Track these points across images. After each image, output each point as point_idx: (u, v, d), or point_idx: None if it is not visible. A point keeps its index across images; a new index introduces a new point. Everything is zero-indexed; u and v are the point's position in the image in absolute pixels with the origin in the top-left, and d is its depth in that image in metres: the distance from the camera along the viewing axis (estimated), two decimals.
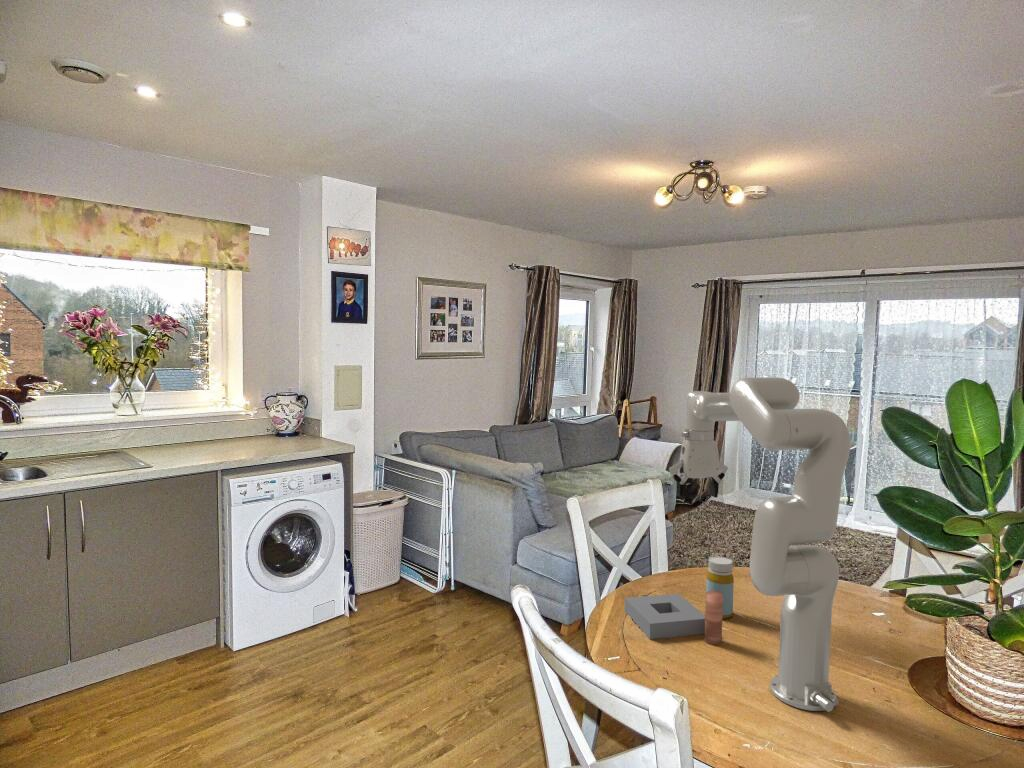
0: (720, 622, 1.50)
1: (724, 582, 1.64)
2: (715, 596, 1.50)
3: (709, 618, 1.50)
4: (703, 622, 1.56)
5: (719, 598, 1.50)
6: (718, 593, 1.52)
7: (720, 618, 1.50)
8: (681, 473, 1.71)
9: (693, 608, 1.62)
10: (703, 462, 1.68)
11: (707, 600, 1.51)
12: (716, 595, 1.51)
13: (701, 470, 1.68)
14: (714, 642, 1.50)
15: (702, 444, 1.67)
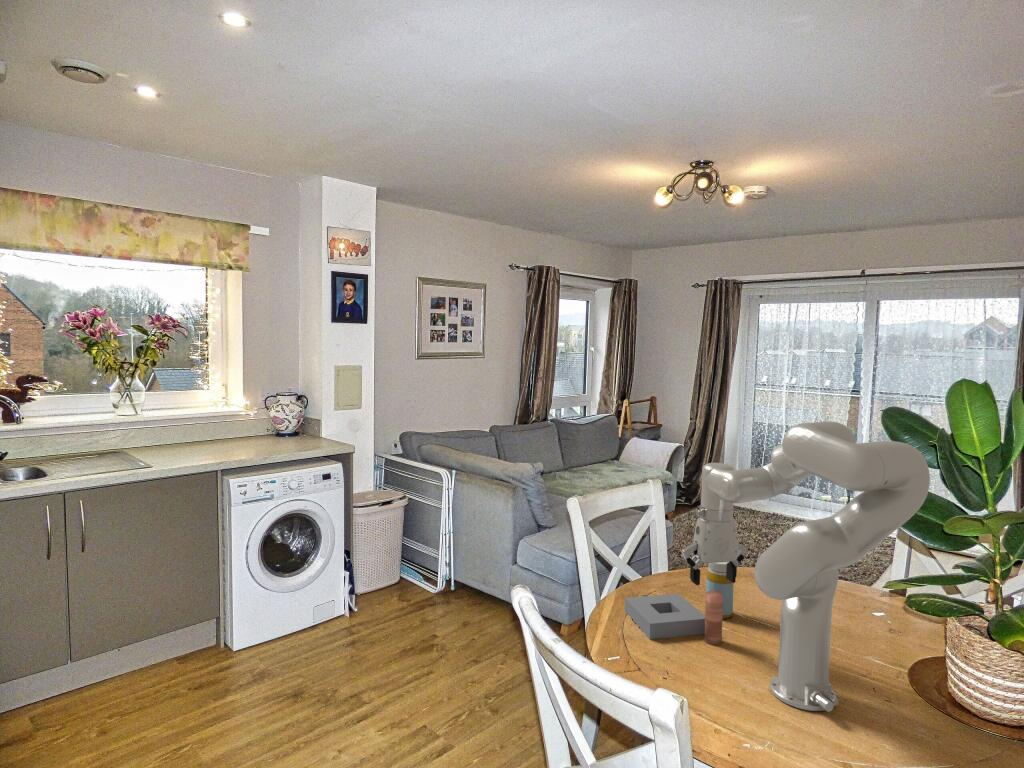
0: (720, 622, 1.50)
1: (724, 582, 1.64)
2: (715, 596, 1.50)
3: (709, 618, 1.50)
4: (703, 622, 1.56)
5: (719, 598, 1.50)
6: (718, 593, 1.52)
7: (720, 618, 1.50)
8: (695, 555, 1.51)
9: (693, 608, 1.62)
10: (720, 545, 1.48)
11: (707, 600, 1.51)
12: (716, 595, 1.51)
13: (718, 554, 1.48)
14: (714, 642, 1.50)
15: (719, 525, 1.48)
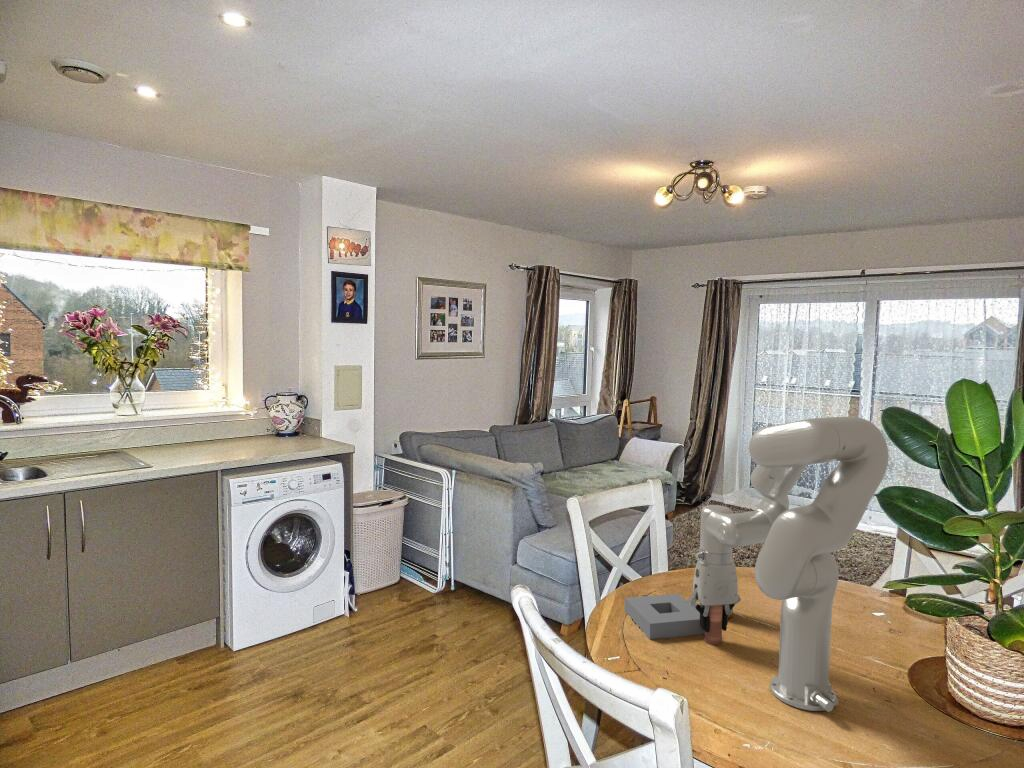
0: (720, 622, 1.50)
1: None
2: None
3: None
4: None
5: None
6: None
7: (720, 618, 1.50)
8: (700, 601, 1.52)
9: (693, 608, 1.62)
10: (720, 588, 1.49)
11: None
12: None
13: (718, 597, 1.49)
14: (714, 642, 1.50)
15: (718, 567, 1.48)
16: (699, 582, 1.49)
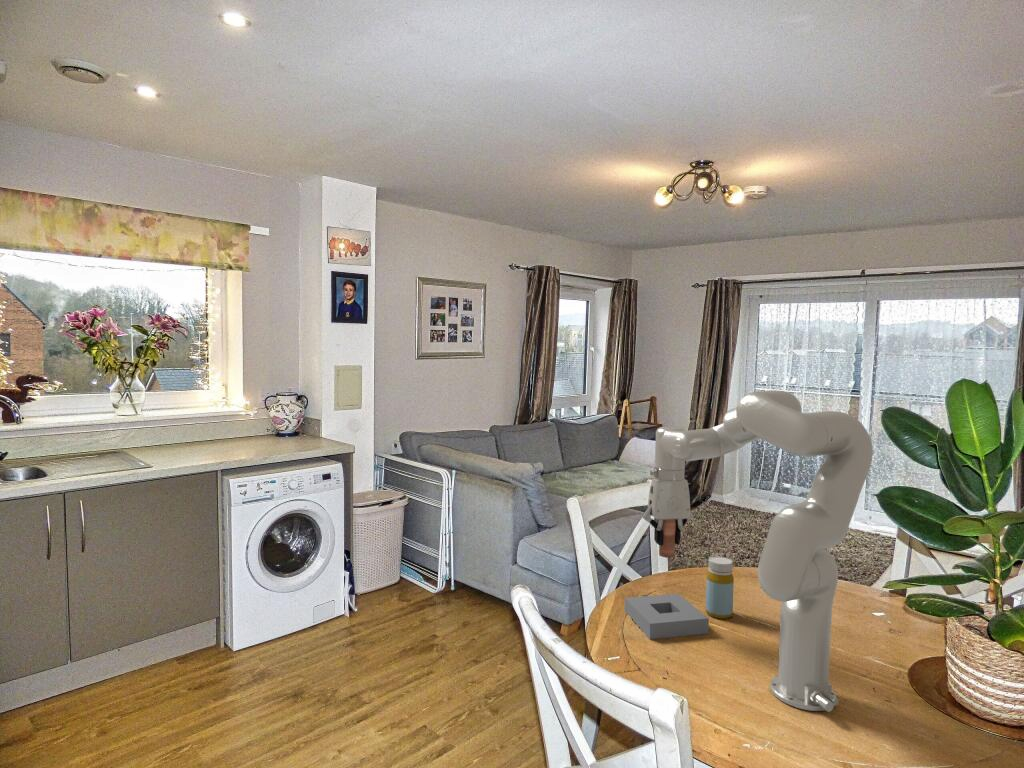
0: (673, 535, 1.59)
1: (724, 582, 1.64)
2: None
3: (663, 532, 1.59)
4: (703, 622, 1.56)
5: None
6: None
7: (673, 532, 1.59)
8: (655, 517, 1.61)
9: (693, 608, 1.62)
10: (673, 503, 1.58)
11: None
12: None
13: (671, 511, 1.58)
14: (667, 554, 1.59)
15: (671, 483, 1.57)
16: (653, 497, 1.58)
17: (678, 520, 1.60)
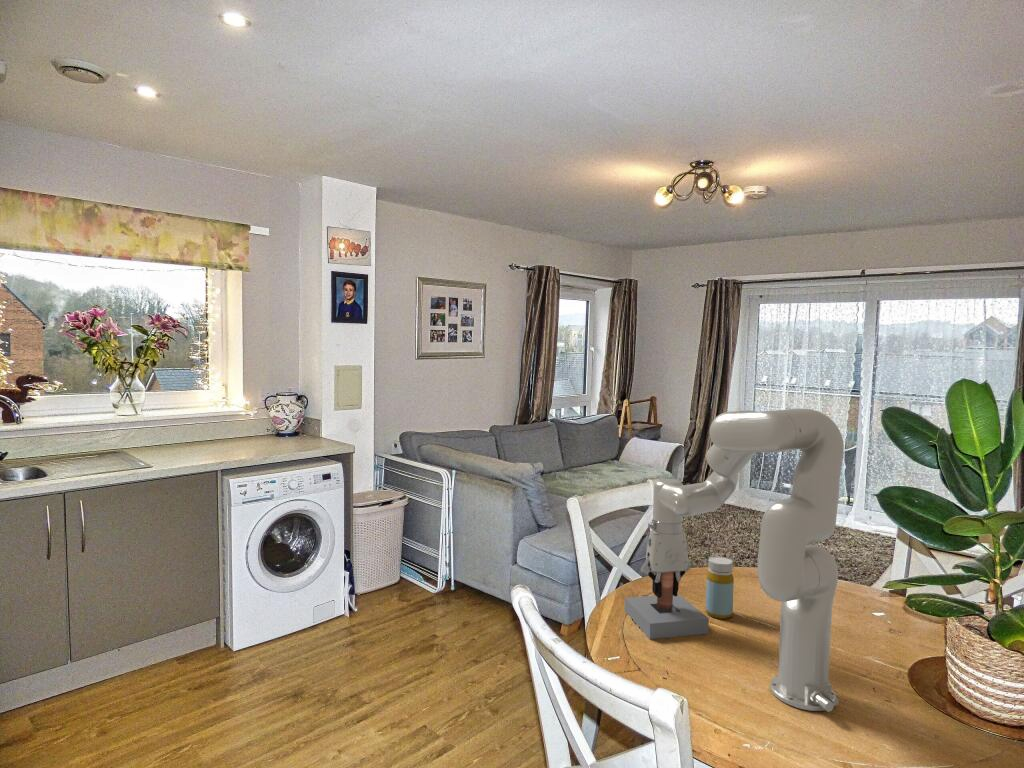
0: (671, 588, 1.60)
1: (724, 582, 1.64)
2: None
3: (661, 584, 1.60)
4: (703, 622, 1.56)
5: None
6: None
7: (671, 584, 1.60)
8: None
9: (693, 608, 1.62)
10: (670, 556, 1.58)
11: None
12: None
13: (669, 564, 1.59)
14: (665, 606, 1.60)
15: (669, 537, 1.58)
16: (651, 550, 1.59)
17: (676, 572, 1.61)
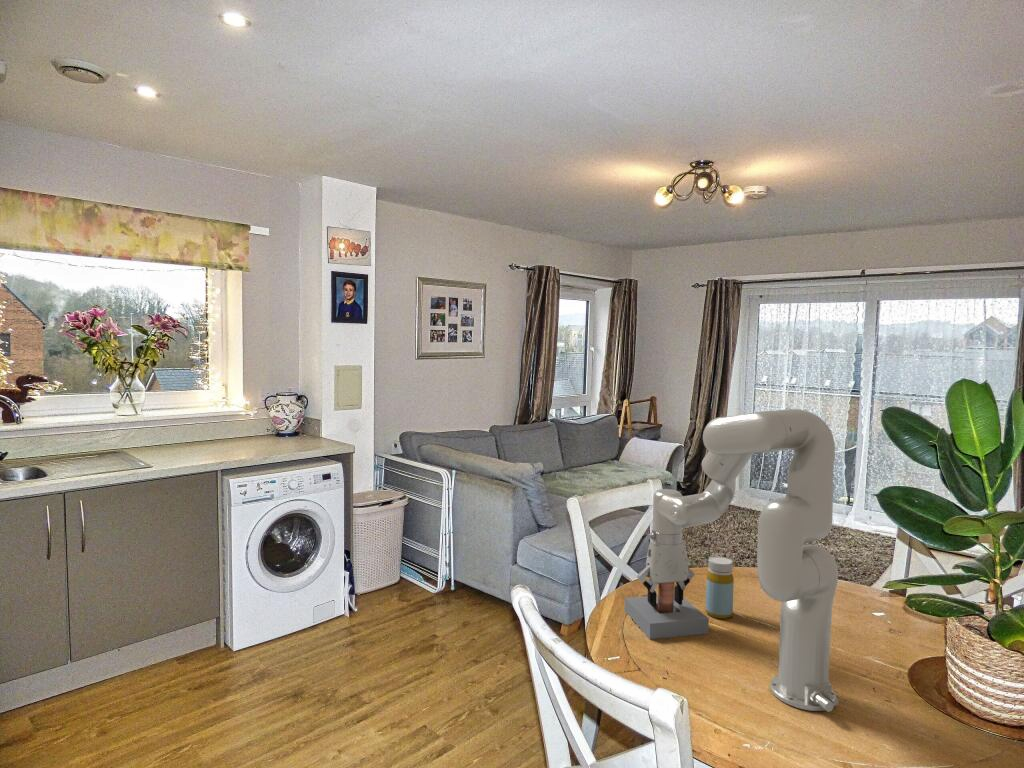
0: (671, 604, 1.60)
1: (724, 582, 1.64)
2: None
3: (661, 600, 1.61)
4: (703, 622, 1.56)
5: None
6: None
7: (671, 600, 1.60)
8: (650, 578, 1.62)
9: (693, 608, 1.62)
10: (670, 567, 1.59)
11: (659, 584, 1.61)
12: None
13: (669, 575, 1.59)
14: None
15: (669, 547, 1.58)
16: (651, 561, 1.59)
17: (679, 582, 1.61)
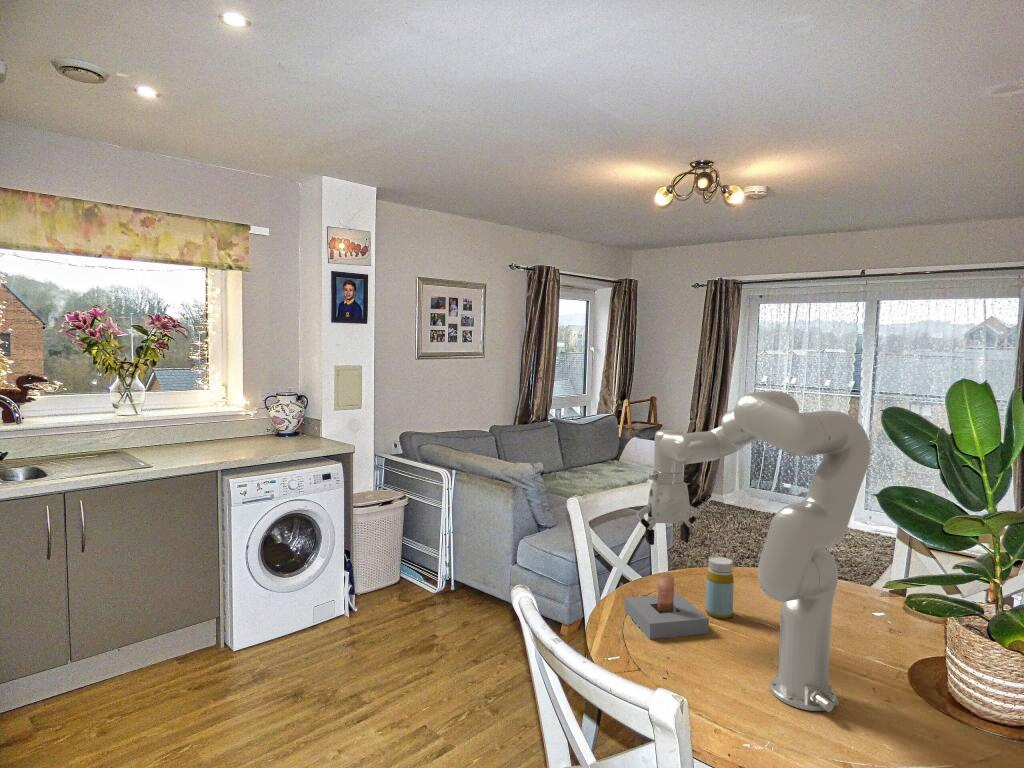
0: (671, 604, 1.60)
1: (724, 582, 1.64)
2: (666, 580, 1.60)
3: (661, 600, 1.61)
4: (703, 622, 1.56)
5: (670, 582, 1.60)
6: (670, 577, 1.62)
7: (671, 600, 1.60)
8: (649, 517, 1.61)
9: (693, 608, 1.62)
10: (672, 506, 1.58)
11: (659, 584, 1.61)
12: (667, 579, 1.61)
13: (671, 514, 1.58)
14: None
15: (670, 487, 1.57)
16: (653, 501, 1.58)
17: None
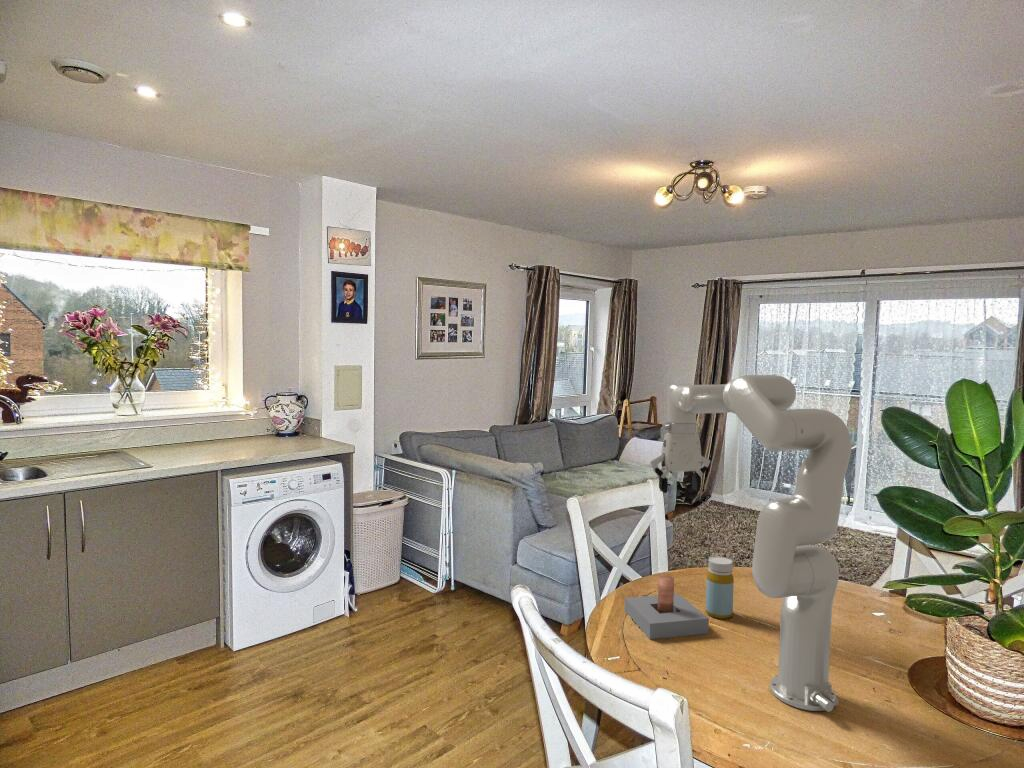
0: (671, 604, 1.60)
1: (724, 582, 1.64)
2: (666, 580, 1.60)
3: (661, 600, 1.61)
4: (703, 622, 1.56)
5: (670, 582, 1.60)
6: (670, 577, 1.62)
7: (671, 600, 1.60)
8: (663, 467, 1.68)
9: (693, 608, 1.62)
10: (685, 456, 1.65)
11: (659, 584, 1.61)
12: (667, 579, 1.61)
13: (683, 463, 1.65)
14: None
15: (683, 437, 1.65)
16: (666, 450, 1.66)
17: None
